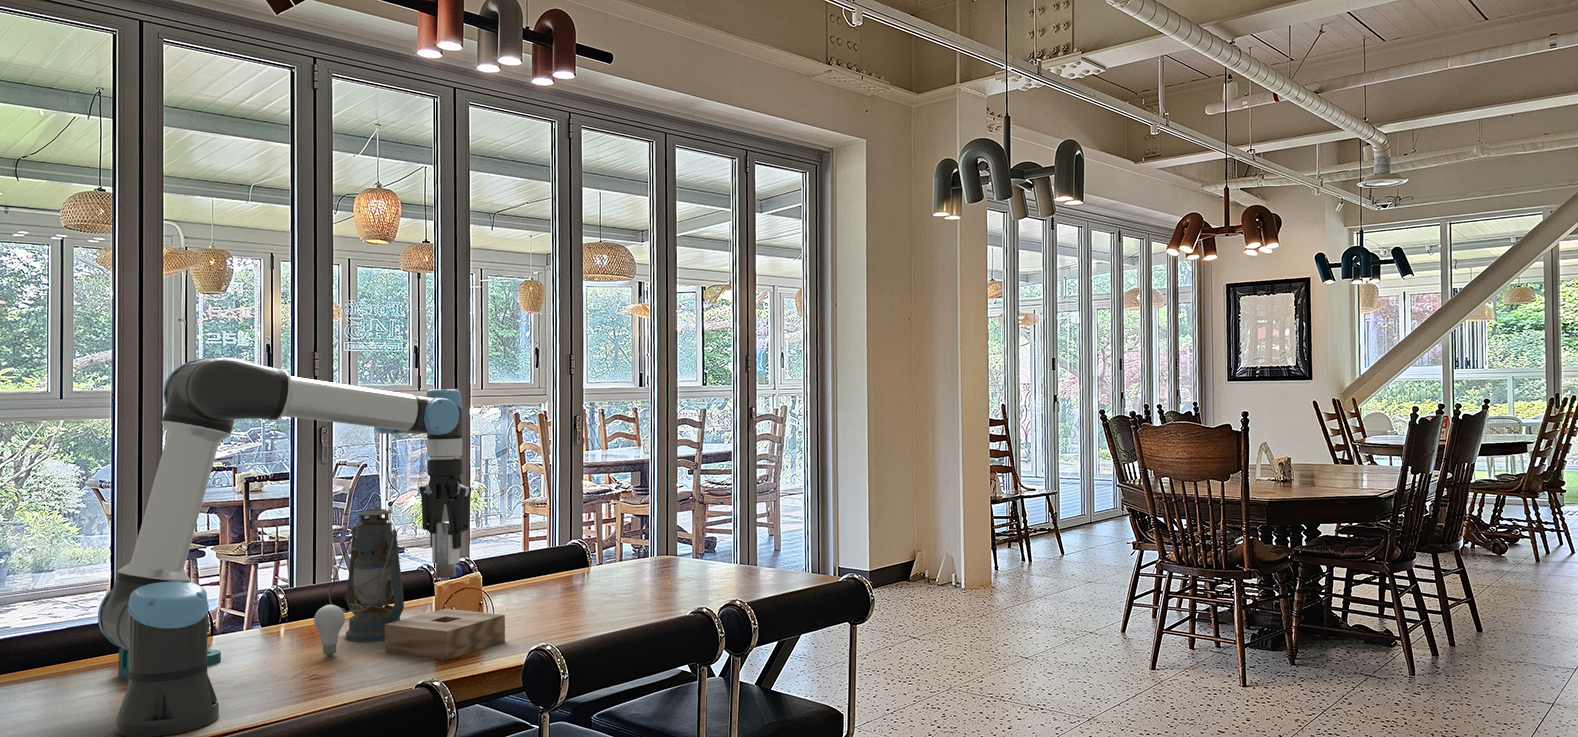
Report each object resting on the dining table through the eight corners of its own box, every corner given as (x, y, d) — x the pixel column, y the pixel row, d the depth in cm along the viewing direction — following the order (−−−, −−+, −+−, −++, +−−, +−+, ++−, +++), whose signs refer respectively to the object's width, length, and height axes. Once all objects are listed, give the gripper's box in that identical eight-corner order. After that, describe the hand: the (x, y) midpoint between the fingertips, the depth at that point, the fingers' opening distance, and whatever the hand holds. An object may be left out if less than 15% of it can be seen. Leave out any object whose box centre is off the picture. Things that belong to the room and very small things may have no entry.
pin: (446, 578, 229) (445, 523, 230) (432, 577, 231) (432, 523, 232) (459, 575, 233) (458, 521, 233) (445, 574, 235) (445, 520, 235)
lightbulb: (333, 660, 221) (333, 608, 221) (307, 659, 222) (307, 607, 222) (350, 653, 227) (350, 602, 227) (326, 652, 228) (325, 601, 228)
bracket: (130, 682, 207) (130, 642, 207) (118, 676, 211) (118, 637, 211) (226, 663, 221) (226, 626, 221) (212, 658, 225) (212, 622, 225)
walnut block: (447, 659, 220) (446, 631, 220) (384, 651, 228) (384, 624, 228) (504, 641, 236) (504, 614, 236) (444, 634, 244) (444, 608, 244)
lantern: (425, 634, 245) (424, 506, 245) (373, 647, 232) (373, 512, 233) (370, 625, 254) (370, 503, 255) (318, 638, 242) (317, 508, 243)
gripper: (485, 457, 232) (487, 562, 232) (428, 456, 240) (429, 558, 239) (461, 459, 226) (462, 567, 225) (403, 458, 233) (404, 563, 233)
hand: (445, 562), depth 232 cm, fingers closed on pin, 4 cm apart
